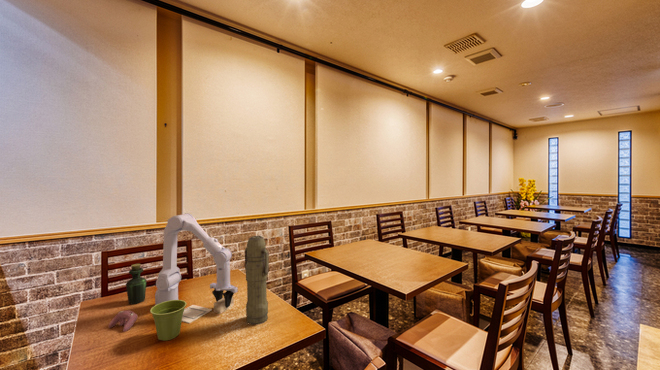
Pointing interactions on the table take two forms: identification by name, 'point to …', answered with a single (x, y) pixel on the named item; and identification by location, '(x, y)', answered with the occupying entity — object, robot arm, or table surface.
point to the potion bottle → (136, 286)
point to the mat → (194, 313)
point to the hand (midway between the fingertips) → (223, 305)
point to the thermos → (256, 280)
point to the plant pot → (168, 318)
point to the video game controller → (124, 319)
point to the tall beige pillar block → (222, 305)
